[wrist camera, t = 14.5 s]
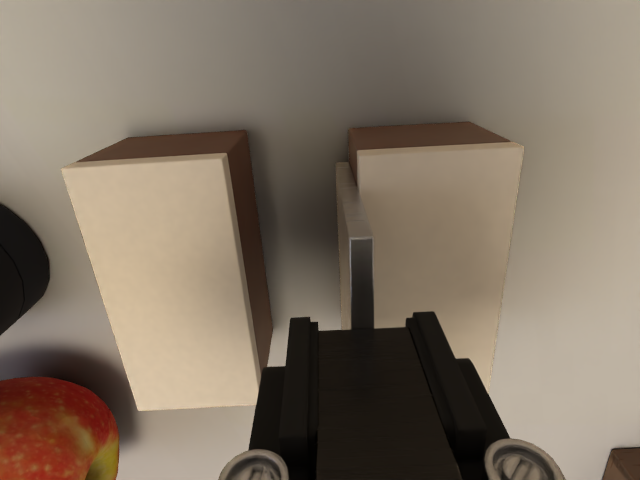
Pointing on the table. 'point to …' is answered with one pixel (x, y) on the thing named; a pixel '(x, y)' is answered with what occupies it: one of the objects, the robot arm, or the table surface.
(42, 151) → the table surface
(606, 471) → the knife block
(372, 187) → the cake slice
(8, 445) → the apple
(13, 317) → the wine bottle
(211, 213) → the cake
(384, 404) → the knife
